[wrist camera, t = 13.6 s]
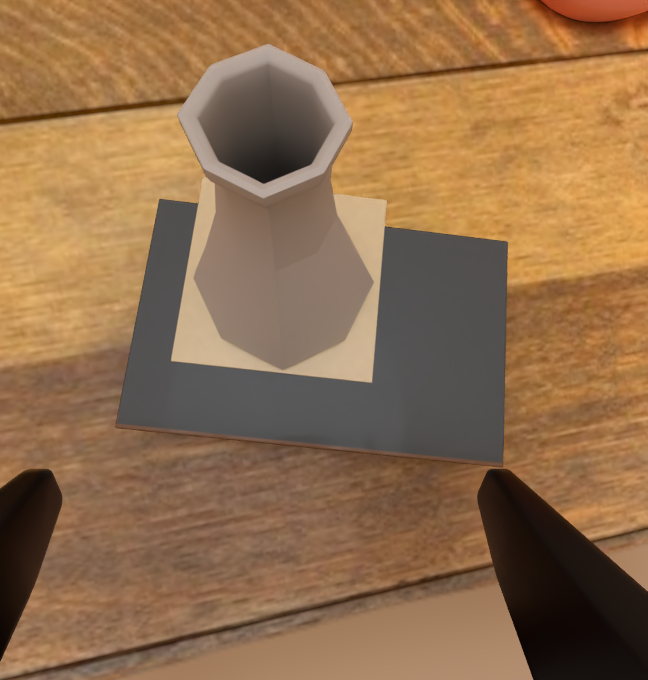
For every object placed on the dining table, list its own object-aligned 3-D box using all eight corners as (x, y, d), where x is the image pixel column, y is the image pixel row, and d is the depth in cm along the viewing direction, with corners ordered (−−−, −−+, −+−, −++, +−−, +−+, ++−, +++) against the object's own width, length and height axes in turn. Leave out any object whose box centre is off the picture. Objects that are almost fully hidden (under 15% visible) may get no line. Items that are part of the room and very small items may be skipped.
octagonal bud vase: (164, 279, 17) (-11, 104, 8) (287, 174, 19) (273, -93, 9) (282, 401, 17) (256, 382, 7) (401, 284, 18) (523, 128, 8)
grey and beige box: (473, 459, 20) (505, 468, 17) (142, 426, 19) (112, 428, 16) (481, 243, 22) (510, 215, 19) (182, 207, 21) (162, 172, 18)
